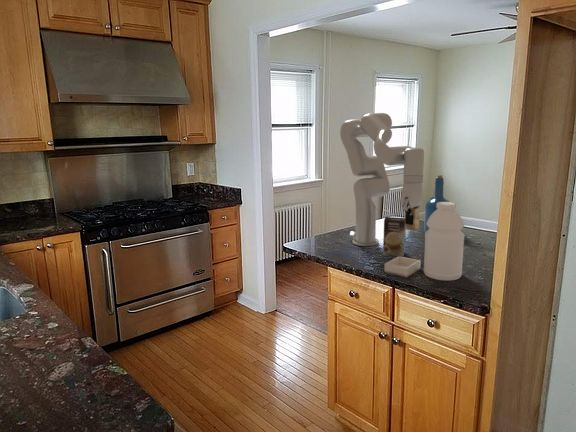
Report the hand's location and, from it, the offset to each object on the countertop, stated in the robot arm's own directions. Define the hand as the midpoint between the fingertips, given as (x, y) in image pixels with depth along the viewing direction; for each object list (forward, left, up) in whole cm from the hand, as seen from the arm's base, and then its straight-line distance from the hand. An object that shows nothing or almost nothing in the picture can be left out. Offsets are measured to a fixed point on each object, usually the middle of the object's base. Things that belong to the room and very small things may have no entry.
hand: (411, 222), depth 177 cm
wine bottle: (-10, +50, -17) cm, 54 cm away
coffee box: (-11, +6, -17) cm, 21 cm away
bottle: (+16, -6, -17) cm, 24 cm away
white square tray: (+2, -11, -17) cm, 20 cm away
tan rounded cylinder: (0, 0, -3) cm, 3 cm away
